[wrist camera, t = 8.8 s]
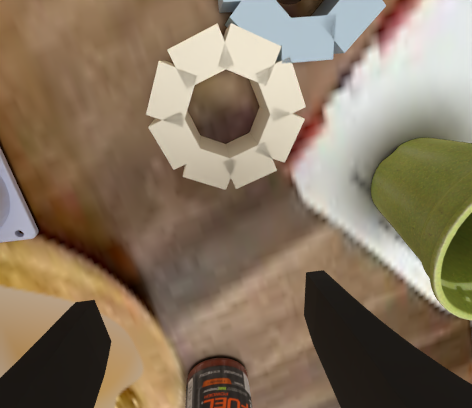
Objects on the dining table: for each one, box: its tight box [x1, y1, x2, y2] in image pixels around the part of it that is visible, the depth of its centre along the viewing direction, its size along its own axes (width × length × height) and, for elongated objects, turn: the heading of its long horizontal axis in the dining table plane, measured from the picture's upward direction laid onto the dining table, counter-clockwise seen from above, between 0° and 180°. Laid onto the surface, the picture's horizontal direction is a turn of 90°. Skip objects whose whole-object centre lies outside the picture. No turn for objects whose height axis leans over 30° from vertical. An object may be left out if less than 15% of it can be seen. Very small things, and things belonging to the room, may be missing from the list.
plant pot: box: [371, 138, 472, 320], centre depth 17 cm, size 9×9×9 cm
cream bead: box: [146, 23, 306, 190], centre depth 16 cm, size 8×8×3 cm
